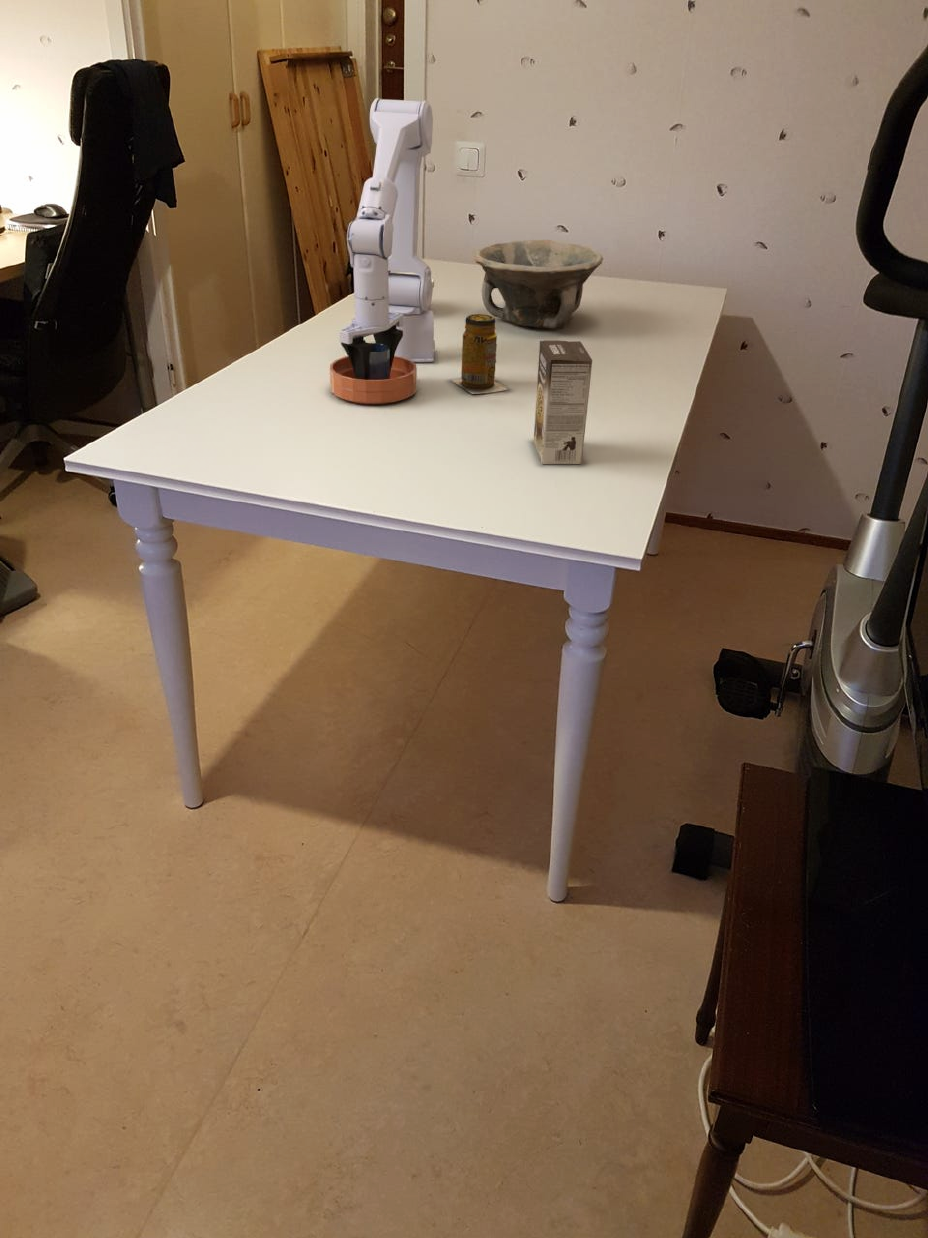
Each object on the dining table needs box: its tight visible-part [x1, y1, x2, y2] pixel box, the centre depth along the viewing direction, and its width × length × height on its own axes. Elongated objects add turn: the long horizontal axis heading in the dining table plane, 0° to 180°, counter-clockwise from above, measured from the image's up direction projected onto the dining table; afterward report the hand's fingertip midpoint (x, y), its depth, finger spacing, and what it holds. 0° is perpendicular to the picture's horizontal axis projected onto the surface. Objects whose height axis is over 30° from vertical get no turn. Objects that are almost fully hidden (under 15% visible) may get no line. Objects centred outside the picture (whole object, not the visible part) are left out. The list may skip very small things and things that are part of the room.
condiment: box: [451, 313, 509, 395], centre depth 167 cm, size 7×8×12 cm
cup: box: [367, 342, 390, 380], centre depth 164 cm, size 6×6×6 cm
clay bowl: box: [329, 355, 418, 405], centre depth 165 cm, size 15×15×4 cm
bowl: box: [474, 239, 604, 330], centre depth 202 cm, size 27×26×15 cm
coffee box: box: [533, 339, 593, 465], centre depth 141 cm, size 9×6×16 cm
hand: (373, 375), depth 164 cm, fingers closed on cup, 6 cm apart
